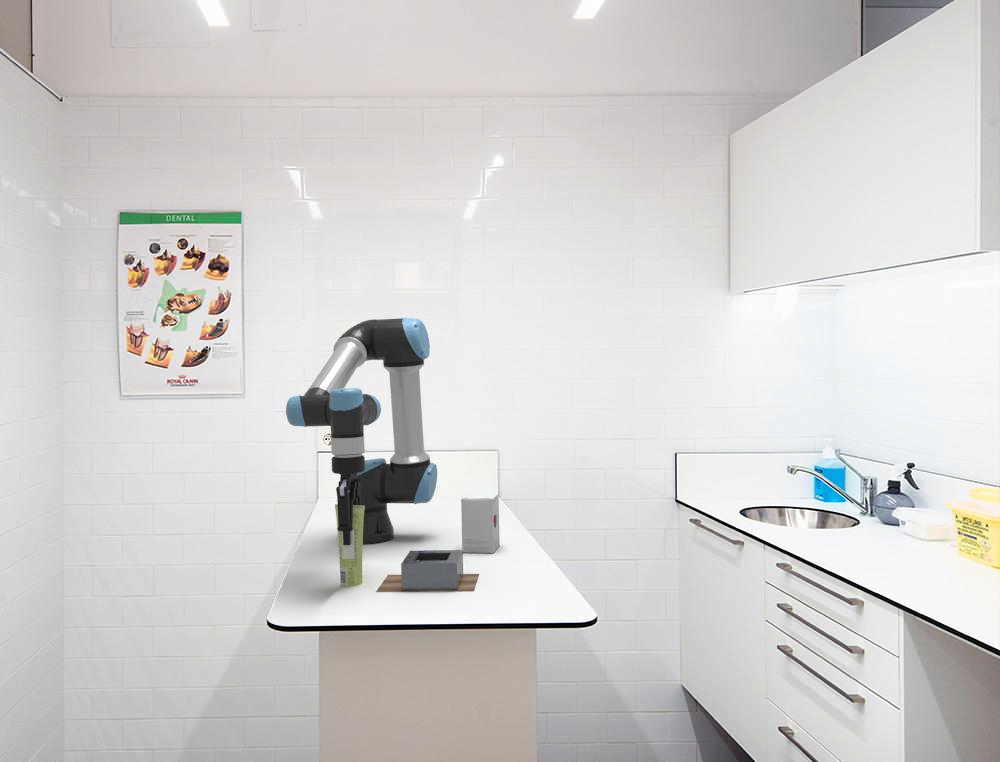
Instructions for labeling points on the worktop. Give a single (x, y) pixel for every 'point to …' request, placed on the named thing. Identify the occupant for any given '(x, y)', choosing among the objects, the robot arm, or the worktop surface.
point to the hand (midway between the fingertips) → (351, 555)
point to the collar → (432, 570)
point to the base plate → (395, 585)
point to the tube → (353, 567)
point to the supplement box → (480, 522)
